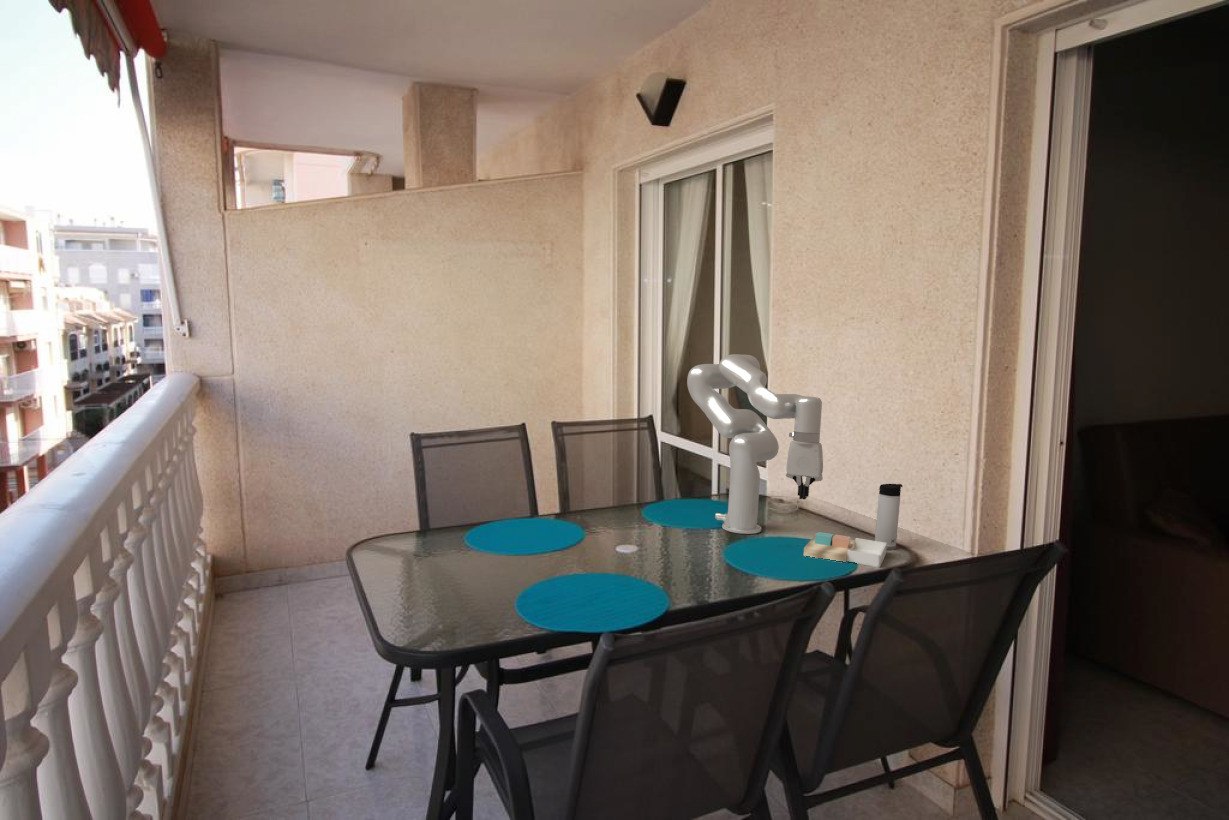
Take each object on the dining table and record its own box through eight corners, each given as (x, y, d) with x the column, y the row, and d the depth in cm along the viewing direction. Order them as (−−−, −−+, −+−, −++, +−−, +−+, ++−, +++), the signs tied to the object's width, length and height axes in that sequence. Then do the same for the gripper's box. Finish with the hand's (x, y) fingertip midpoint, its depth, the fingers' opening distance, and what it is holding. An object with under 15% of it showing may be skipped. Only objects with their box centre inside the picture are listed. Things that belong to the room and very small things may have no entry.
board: (803, 556, 223) (804, 547, 223) (815, 542, 239) (816, 534, 239) (846, 563, 218) (846, 554, 218) (855, 548, 234) (856, 540, 234)
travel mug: (898, 551, 233) (904, 486, 231) (875, 549, 235) (881, 484, 233) (895, 545, 239) (900, 482, 237) (873, 543, 241) (878, 480, 239)
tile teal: (814, 543, 228) (815, 535, 228) (817, 539, 232) (818, 531, 232) (830, 545, 226) (830, 537, 226) (832, 542, 230) (833, 534, 230)
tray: (846, 562, 219) (847, 550, 218) (854, 549, 233) (855, 537, 233) (879, 567, 215) (880, 555, 215) (886, 554, 229) (887, 542, 229)
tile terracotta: (831, 546, 226) (832, 537, 226) (834, 542, 230) (835, 534, 230) (847, 548, 224) (848, 540, 224) (850, 545, 228) (850, 536, 228)
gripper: (778, 437, 229) (775, 497, 231) (830, 441, 222) (826, 503, 224) (784, 434, 236) (781, 493, 237) (834, 439, 229) (830, 499, 231)
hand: (802, 498), depth 231 cm, fingers closed
